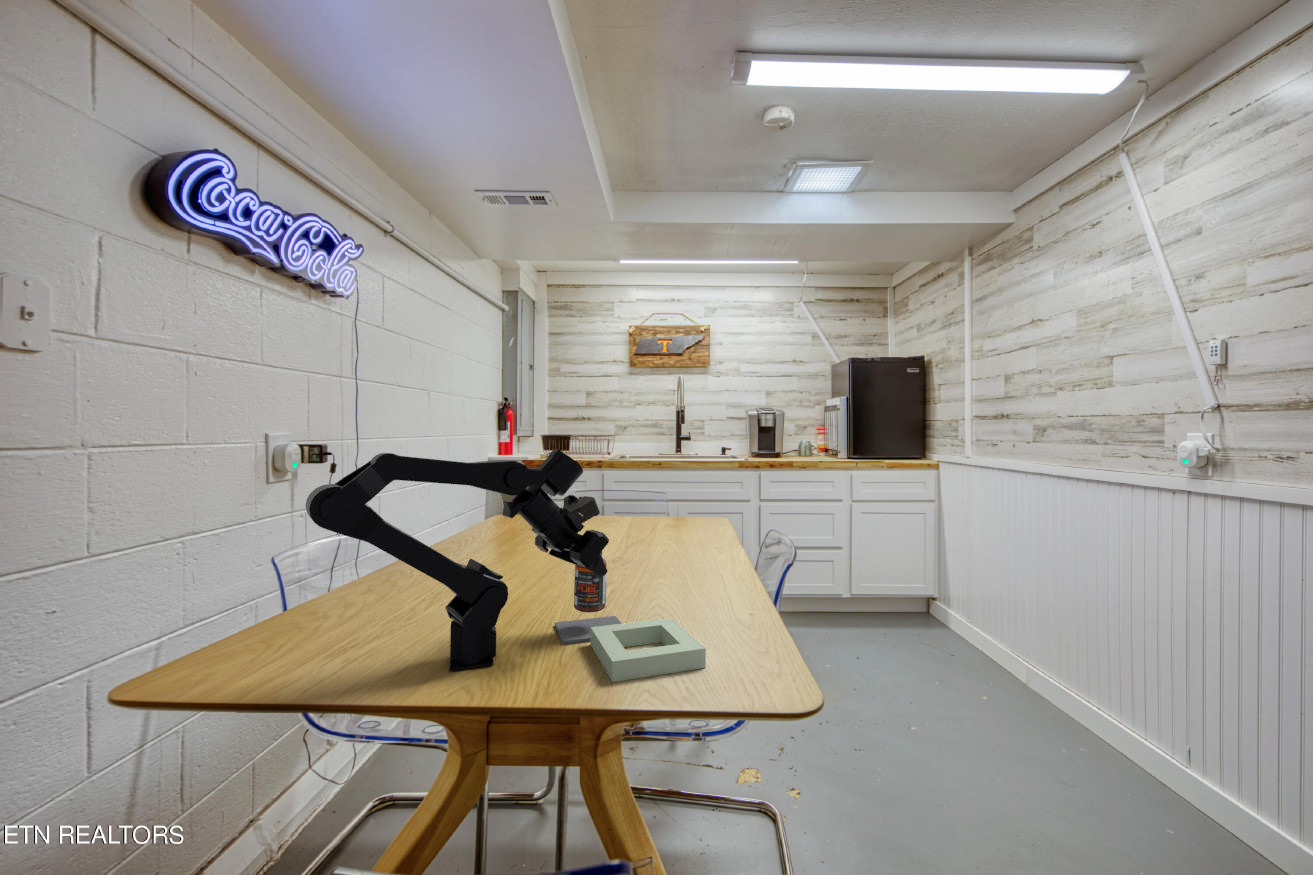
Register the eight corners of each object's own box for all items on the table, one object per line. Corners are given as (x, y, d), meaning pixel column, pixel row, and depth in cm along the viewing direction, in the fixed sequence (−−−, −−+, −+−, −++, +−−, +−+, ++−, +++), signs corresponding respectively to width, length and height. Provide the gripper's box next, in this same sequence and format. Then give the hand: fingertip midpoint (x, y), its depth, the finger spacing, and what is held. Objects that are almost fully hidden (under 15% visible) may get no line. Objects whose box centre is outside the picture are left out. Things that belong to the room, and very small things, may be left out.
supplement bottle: (572, 613, 92) (573, 550, 92) (574, 603, 98) (575, 544, 98) (605, 613, 93) (607, 550, 93) (605, 603, 99) (607, 544, 99)
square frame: (612, 682, 75) (612, 661, 75) (590, 644, 89) (590, 627, 89) (705, 667, 80) (705, 648, 80) (670, 634, 94) (670, 617, 94)
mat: (563, 644, 89) (563, 641, 89) (554, 625, 98) (554, 622, 98) (629, 636, 93) (629, 632, 93) (615, 618, 102) (615, 615, 102)
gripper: (600, 485, 86) (651, 544, 93) (550, 479, 101) (597, 530, 107) (556, 536, 81) (613, 595, 87) (511, 522, 96) (563, 573, 102)
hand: (596, 570), depth 96 cm, fingers closed on supplement bottle, 6 cm apart
